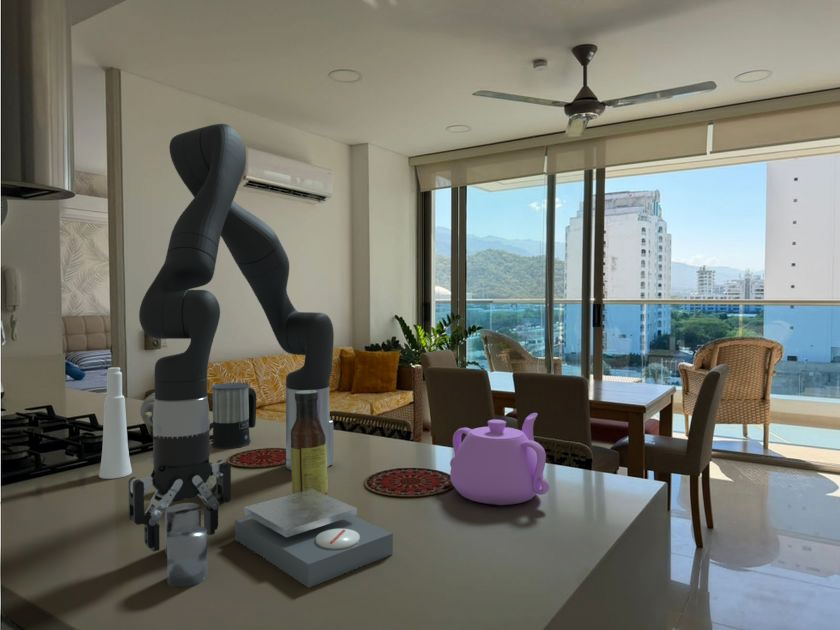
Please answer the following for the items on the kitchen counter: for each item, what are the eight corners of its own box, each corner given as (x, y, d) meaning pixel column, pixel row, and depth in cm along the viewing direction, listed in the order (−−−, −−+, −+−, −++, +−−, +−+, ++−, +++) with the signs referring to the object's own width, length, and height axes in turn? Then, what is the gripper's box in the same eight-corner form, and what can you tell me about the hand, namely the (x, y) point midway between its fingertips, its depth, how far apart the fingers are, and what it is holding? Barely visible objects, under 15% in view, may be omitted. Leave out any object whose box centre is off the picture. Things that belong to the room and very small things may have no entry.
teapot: (584, 490, 110) (585, 418, 110) (520, 523, 95) (521, 438, 94) (490, 467, 125) (490, 403, 125) (421, 492, 110) (422, 419, 109)
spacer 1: (192, 539, 88) (192, 500, 87) (206, 550, 84) (206, 508, 84) (160, 549, 84) (159, 508, 84) (172, 560, 81) (172, 517, 81)
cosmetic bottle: (128, 477, 117) (127, 369, 117) (95, 480, 116) (93, 370, 115) (134, 469, 123) (133, 365, 123) (102, 471, 121) (101, 366, 121)
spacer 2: (198, 566, 79) (197, 522, 79) (213, 578, 76) (213, 533, 75) (161, 578, 76) (161, 532, 75) (176, 591, 72) (175, 543, 72)
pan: (312, 494, 96) (312, 488, 96) (356, 514, 87) (356, 508, 87) (244, 513, 87) (244, 506, 87) (286, 537, 79) (286, 530, 79)
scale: (313, 515, 97) (313, 494, 97) (392, 554, 83) (392, 529, 83) (235, 539, 88) (234, 516, 87) (308, 587, 73) (308, 559, 73)
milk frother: (243, 449, 139) (243, 388, 139) (178, 449, 140) (177, 387, 139) (260, 435, 154) (260, 379, 153) (201, 435, 154) (200, 379, 154)
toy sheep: (193, 424, 166) (192, 386, 166) (169, 439, 149) (168, 396, 149) (155, 424, 166) (155, 386, 166) (127, 439, 149) (127, 396, 149)
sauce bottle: (334, 498, 106) (333, 389, 105) (317, 510, 100) (316, 395, 99) (302, 494, 108) (302, 387, 107) (283, 506, 102) (283, 393, 101)
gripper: (218, 417, 91) (218, 521, 92) (119, 431, 81) (120, 547, 82) (240, 425, 86) (241, 535, 86) (137, 441, 76) (139, 565, 76)
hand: (182, 541), depth 84 cm, fingers open, 7 cm apart
